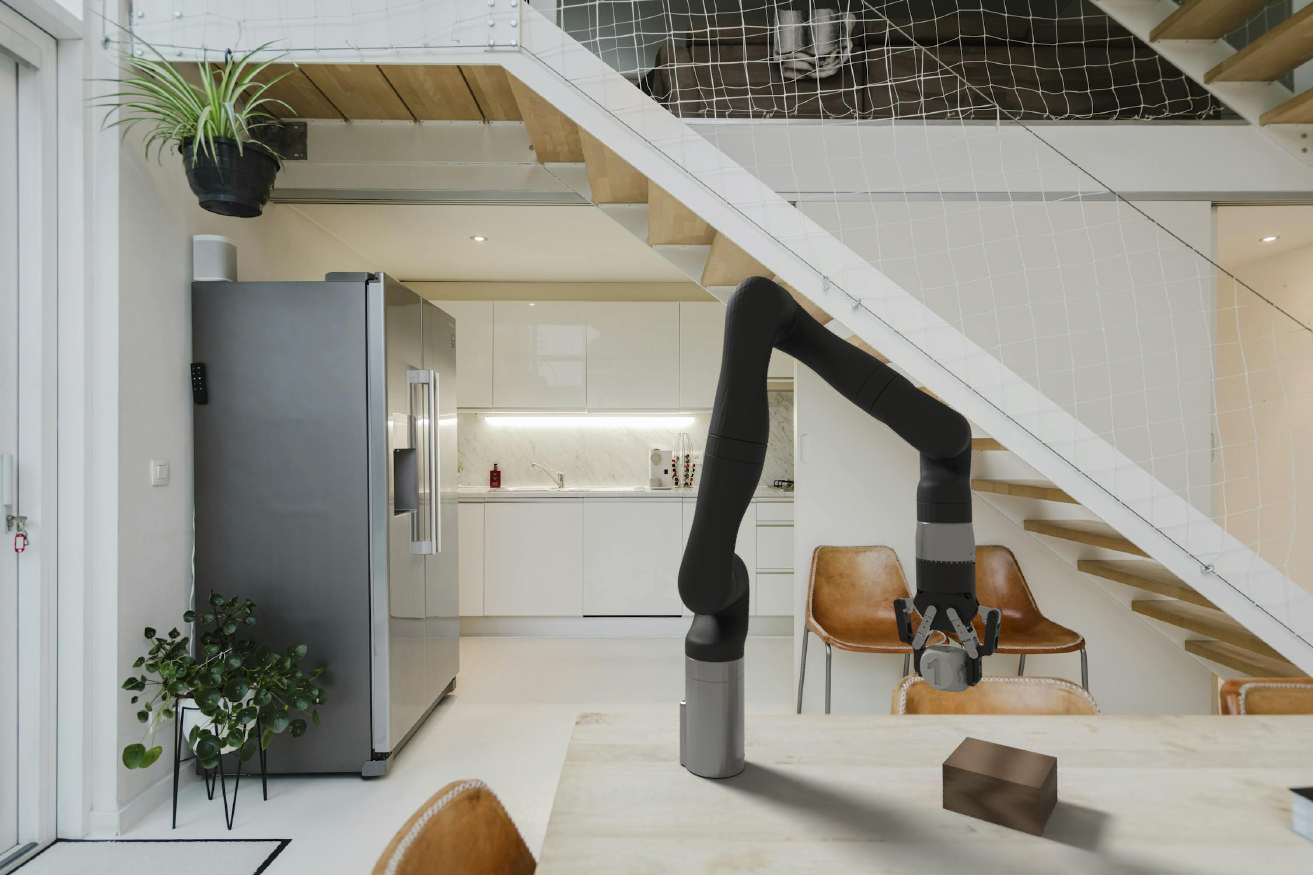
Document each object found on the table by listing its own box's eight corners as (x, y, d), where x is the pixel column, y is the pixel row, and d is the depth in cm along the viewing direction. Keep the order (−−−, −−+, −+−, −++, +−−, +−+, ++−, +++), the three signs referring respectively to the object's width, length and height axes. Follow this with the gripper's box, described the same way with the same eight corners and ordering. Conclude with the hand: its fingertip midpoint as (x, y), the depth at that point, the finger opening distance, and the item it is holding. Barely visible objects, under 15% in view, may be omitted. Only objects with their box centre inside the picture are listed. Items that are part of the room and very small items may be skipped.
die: (919, 685, 99) (919, 648, 99) (941, 678, 101) (940, 642, 102) (953, 694, 94) (952, 656, 95) (975, 687, 97) (974, 649, 98)
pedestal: (942, 807, 100) (942, 763, 100) (967, 776, 109) (966, 736, 109) (1040, 836, 92) (1039, 788, 92) (1057, 800, 102) (1057, 757, 102)
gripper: (882, 554, 100) (884, 677, 100) (994, 562, 91) (997, 698, 91) (902, 548, 106) (904, 664, 105) (1009, 556, 97) (1012, 683, 96)
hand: (947, 679), depth 98 cm, fingers closed on die, 6 cm apart
